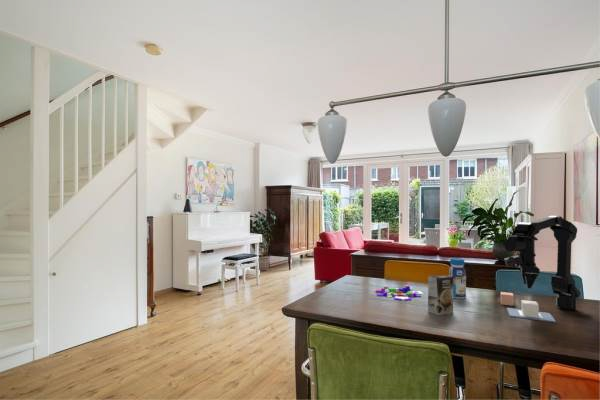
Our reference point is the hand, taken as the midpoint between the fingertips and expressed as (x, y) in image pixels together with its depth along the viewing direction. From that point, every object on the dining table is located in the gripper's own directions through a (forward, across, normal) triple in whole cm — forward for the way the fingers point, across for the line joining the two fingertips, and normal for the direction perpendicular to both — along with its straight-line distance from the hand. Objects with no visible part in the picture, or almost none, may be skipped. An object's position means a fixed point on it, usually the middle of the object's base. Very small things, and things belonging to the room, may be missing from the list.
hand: (527, 285), depth 144 cm
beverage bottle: (+12, -17, -28) cm, 35 cm away
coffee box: (+12, +15, -35) cm, 40 cm away
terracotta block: (+12, -14, -6) cm, 20 cm away
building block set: (+13, -6, -56) cm, 57 cm away
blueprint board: (+12, +2, +1) cm, 13 cm away
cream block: (+12, +2, 0) cm, 12 cm away
